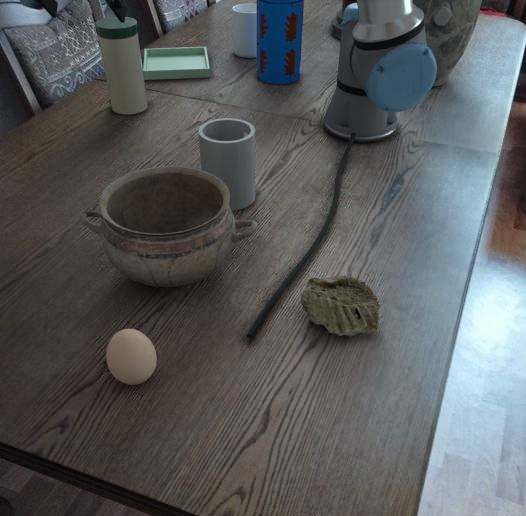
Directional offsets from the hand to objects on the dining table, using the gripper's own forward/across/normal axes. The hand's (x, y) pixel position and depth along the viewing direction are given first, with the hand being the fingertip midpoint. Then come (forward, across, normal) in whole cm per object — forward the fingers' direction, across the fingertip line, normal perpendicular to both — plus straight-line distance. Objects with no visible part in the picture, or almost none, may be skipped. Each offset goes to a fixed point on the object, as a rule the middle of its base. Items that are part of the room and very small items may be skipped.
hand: (89, 13), depth 101 cm
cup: (0, +32, -30) cm, 44 cm away
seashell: (-20, +55, -50) cm, 77 cm away
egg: (-31, +32, -61) cm, 76 cm away
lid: (+11, 0, +4) cm, 12 cm away
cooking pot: (-16, +29, -46) cm, 57 cm away
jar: (+22, 0, -8) cm, 24 cm away
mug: (+53, +17, +22) cm, 60 cm away
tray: (+41, +2, +11) cm, 43 cm away
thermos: (+41, +28, +11) cm, 51 cm away
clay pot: (+46, +62, +15) cm, 78 cm away
